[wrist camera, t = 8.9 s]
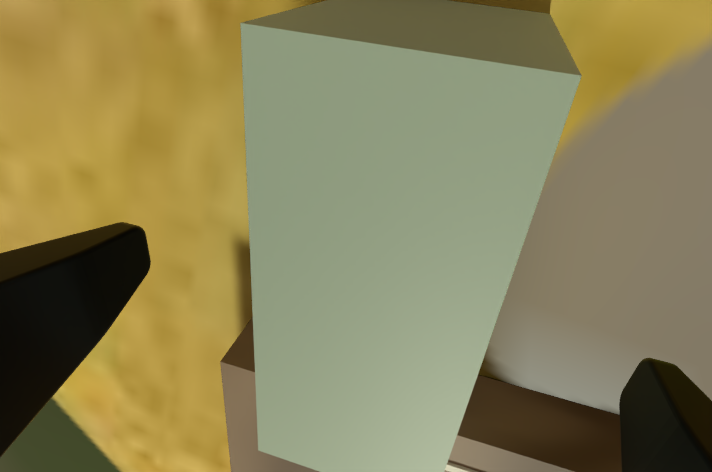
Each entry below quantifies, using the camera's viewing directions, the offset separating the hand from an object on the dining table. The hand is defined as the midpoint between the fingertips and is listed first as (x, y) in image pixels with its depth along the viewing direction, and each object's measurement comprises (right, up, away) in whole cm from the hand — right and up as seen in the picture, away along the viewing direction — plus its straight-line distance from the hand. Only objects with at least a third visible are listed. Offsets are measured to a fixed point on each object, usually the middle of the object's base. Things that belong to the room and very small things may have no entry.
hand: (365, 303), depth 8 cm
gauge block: (+2, +3, +4) cm, 5 cm away
